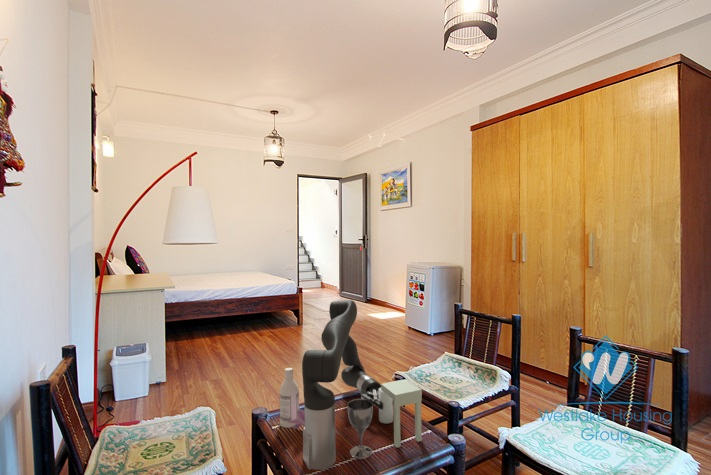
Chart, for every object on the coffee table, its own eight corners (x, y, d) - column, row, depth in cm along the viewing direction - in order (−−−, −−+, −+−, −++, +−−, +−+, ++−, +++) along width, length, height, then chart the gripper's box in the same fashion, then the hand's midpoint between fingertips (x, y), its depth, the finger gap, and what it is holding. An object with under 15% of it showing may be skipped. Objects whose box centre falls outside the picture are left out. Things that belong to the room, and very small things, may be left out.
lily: (330, 432, 128) (324, 403, 132) (319, 436, 117) (314, 404, 121) (299, 441, 129) (294, 412, 133) (285, 445, 118) (281, 414, 123)
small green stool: (396, 448, 116) (395, 395, 116) (381, 433, 125) (381, 383, 125) (422, 441, 120) (421, 389, 120) (406, 426, 129) (406, 379, 129)
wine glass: (374, 445, 118) (373, 399, 118) (372, 460, 110) (372, 410, 110) (349, 444, 118) (349, 398, 118) (346, 459, 110) (346, 409, 111)
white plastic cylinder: (378, 423, 130) (378, 392, 130) (379, 416, 135) (378, 386, 135) (393, 423, 129) (392, 393, 129) (393, 416, 135) (392, 387, 135)
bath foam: (294, 417, 137) (293, 364, 137) (302, 424, 132) (301, 369, 132) (276, 422, 133) (276, 368, 133) (285, 430, 128) (284, 373, 128)
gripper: (352, 381, 143) (371, 398, 127) (384, 375, 148) (406, 391, 133) (352, 400, 143) (371, 419, 127) (385, 393, 148) (406, 411, 133)
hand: (389, 404), depth 130 cm, fingers closed on white plastic cylinder, 5 cm apart
